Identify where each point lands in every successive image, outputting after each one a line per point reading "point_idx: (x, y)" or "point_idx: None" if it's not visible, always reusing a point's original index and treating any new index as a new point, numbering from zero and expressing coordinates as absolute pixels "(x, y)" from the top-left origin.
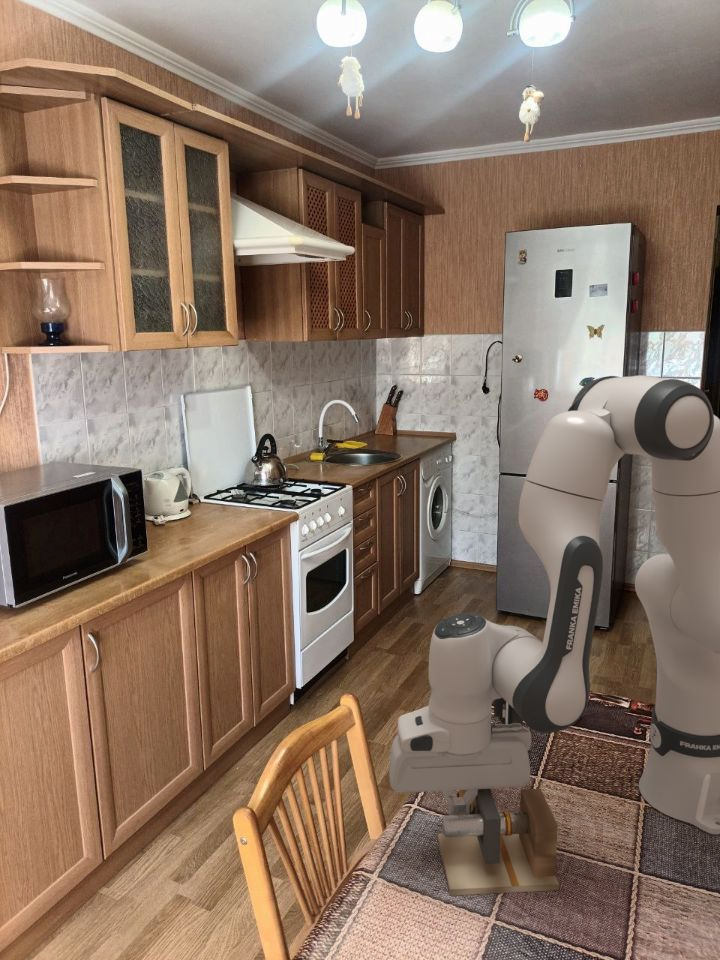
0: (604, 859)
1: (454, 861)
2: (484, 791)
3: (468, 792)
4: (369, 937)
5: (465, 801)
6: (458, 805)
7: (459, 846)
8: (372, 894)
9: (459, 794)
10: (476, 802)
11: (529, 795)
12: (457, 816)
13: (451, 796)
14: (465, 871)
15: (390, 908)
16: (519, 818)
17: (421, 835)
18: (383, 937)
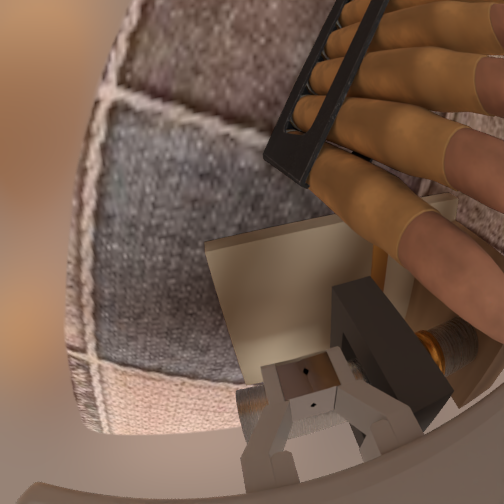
0: (498, 242)
1: (256, 333)
2: (424, 415)
3: (363, 456)
4: (138, 426)
5: (339, 408)
6: (306, 416)
7: (271, 287)
8: (108, 385)
9: (312, 190)
10: (379, 380)
11: None
12: (293, 434)
13: (285, 418)
14: (279, 349)
15: (147, 400)
16: (452, 373)
17: (152, 232)
18: (155, 425)
